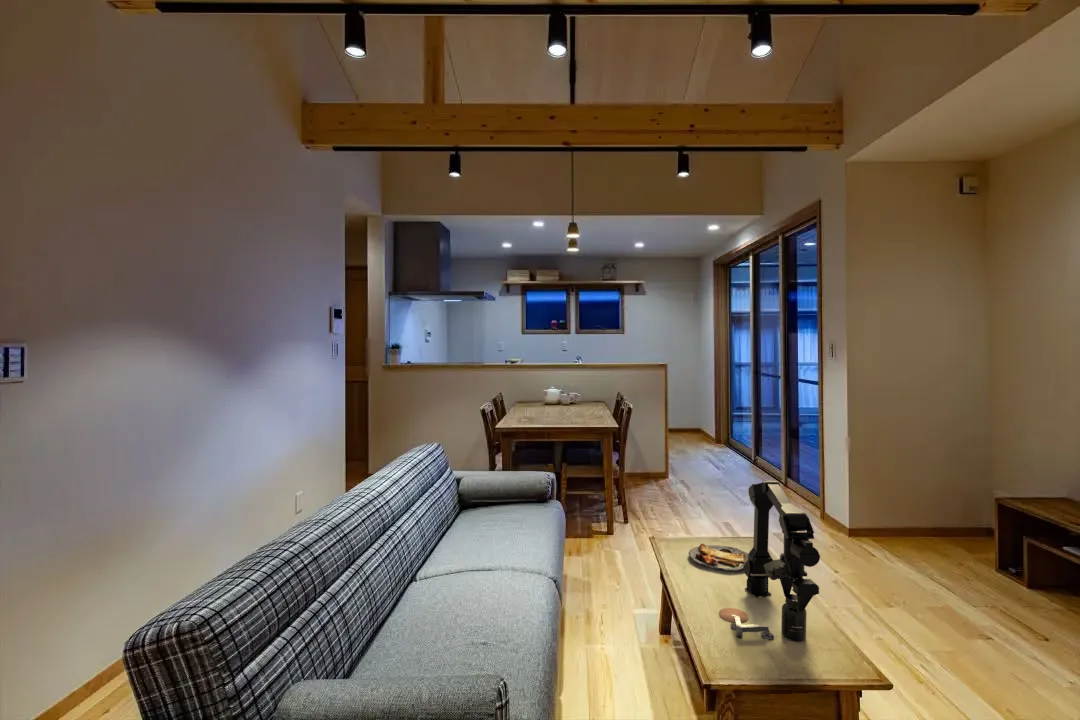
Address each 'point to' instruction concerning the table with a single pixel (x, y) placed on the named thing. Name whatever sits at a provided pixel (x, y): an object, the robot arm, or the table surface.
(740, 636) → the jointed grey bar linkage
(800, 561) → the robot arm
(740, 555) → the food plate
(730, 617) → the peach domed disc
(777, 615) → the table surface
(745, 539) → the table surface
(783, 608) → the supplement bottle
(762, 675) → the table surface
